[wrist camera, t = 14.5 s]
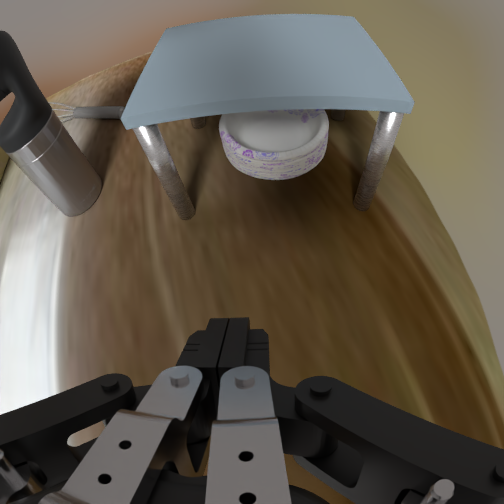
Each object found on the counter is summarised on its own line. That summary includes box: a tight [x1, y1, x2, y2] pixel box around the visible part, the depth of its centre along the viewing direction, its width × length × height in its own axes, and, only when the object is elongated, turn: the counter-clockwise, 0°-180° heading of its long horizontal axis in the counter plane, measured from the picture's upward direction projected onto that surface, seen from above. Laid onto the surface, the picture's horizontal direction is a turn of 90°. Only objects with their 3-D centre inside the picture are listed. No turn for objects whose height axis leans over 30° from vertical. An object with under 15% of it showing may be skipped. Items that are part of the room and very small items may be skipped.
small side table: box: [121, 14, 414, 220], centre depth 37 cm, size 22×27×20 cm
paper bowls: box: [219, 109, 329, 180], centre depth 42 cm, size 15×15×8 cm
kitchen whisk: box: [49, 103, 125, 123], centre depth 55 cm, size 6×34×6 cm, turn 75°
